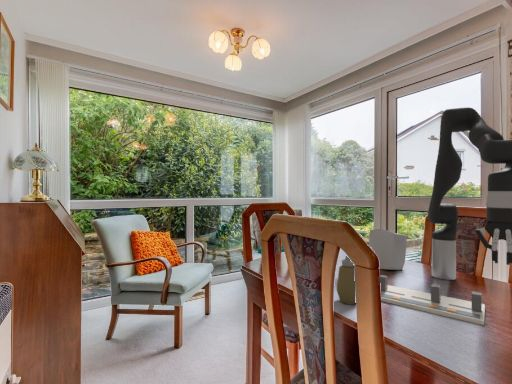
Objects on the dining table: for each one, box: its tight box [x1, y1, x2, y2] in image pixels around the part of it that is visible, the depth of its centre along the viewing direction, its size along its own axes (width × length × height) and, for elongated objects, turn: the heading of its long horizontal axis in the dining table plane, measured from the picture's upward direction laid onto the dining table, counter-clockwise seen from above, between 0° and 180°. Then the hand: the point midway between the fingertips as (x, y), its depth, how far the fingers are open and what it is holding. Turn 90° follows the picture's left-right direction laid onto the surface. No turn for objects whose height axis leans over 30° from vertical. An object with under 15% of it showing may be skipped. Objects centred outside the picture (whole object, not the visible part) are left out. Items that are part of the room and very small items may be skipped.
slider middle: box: [430, 283, 442, 303], centre depth 97 cm, size 3×2×5 cm
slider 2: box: [471, 290, 483, 312], centre depth 90 cm, size 3×2×5 cm
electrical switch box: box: [368, 228, 408, 271], centre depth 147 cm, size 15×15×20 cm
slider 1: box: [379, 274, 389, 291], centre depth 108 cm, size 3×2×5 cm
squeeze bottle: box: [336, 255, 355, 305], centre depth 100 cm, size 8×8×18 cm
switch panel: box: [381, 284, 486, 326], centre depth 99 cm, size 16×32×2 cm, turn 51°
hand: (502, 263), depth 87 cm, fingers closed
